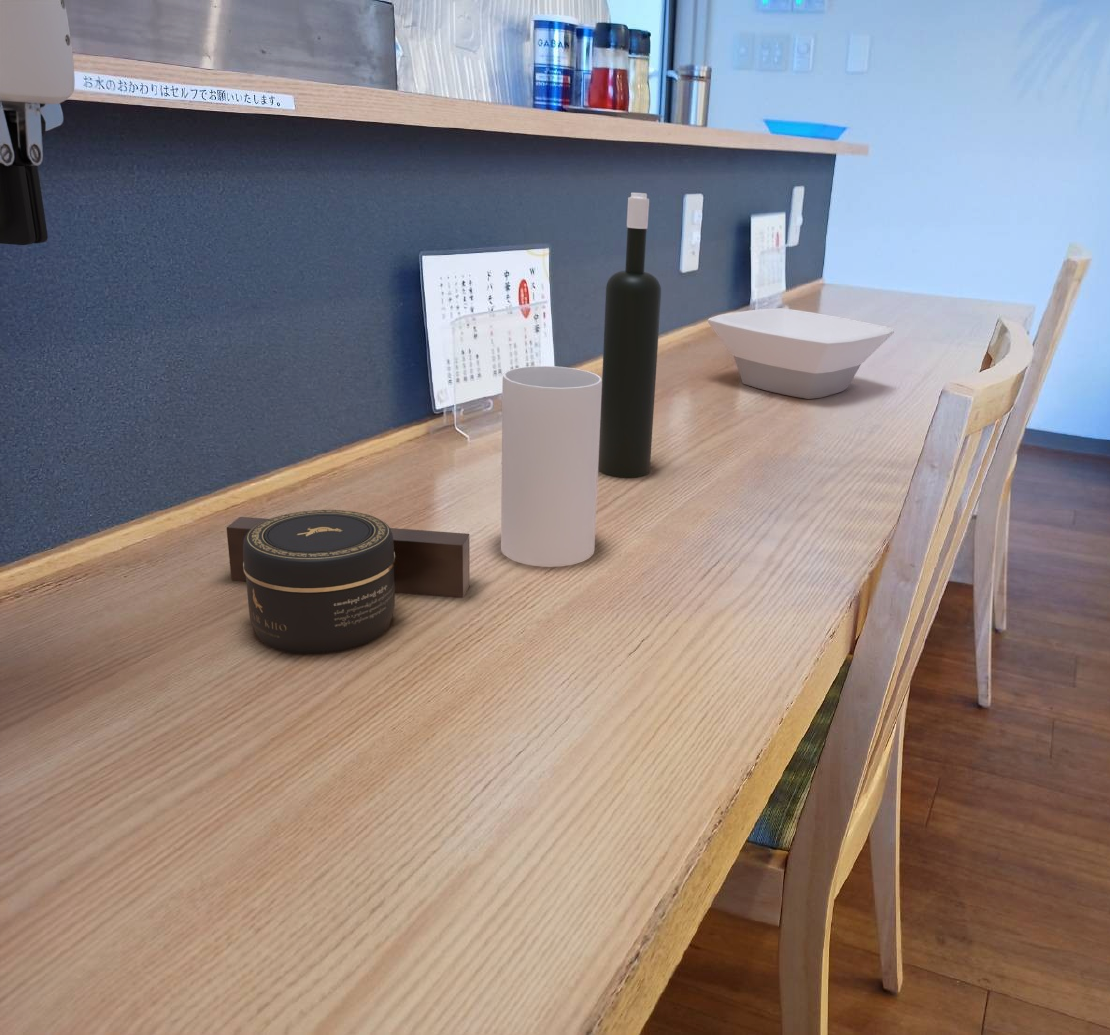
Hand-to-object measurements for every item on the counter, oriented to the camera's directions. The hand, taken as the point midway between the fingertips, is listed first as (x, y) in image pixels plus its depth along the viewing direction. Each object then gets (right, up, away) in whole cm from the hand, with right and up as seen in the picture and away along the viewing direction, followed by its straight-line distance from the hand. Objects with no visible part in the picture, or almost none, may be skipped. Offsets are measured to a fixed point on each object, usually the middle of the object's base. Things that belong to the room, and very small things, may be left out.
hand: (9, 241), depth 53 cm
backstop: (+10, -21, +25) cm, 34 cm away
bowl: (+54, +6, +106) cm, 119 cm away
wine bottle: (+29, -10, +57) cm, 65 cm away
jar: (+10, -23, +18) cm, 31 cm away
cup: (+24, -18, +34) cm, 46 cm away
